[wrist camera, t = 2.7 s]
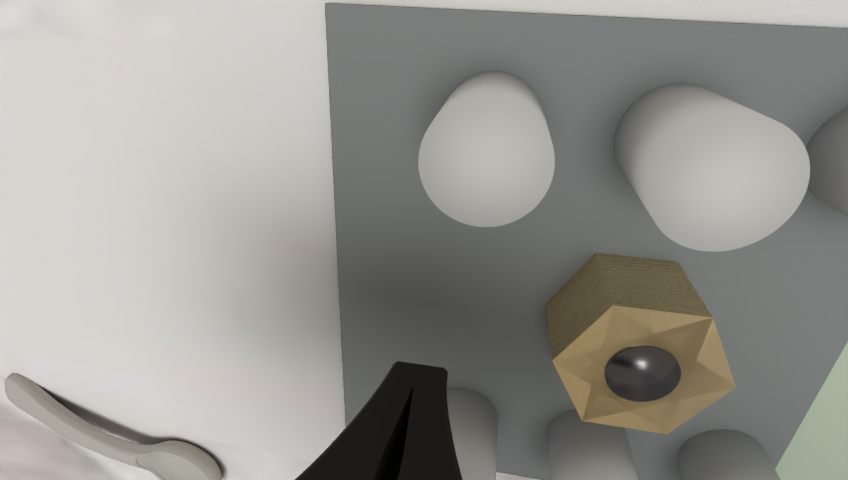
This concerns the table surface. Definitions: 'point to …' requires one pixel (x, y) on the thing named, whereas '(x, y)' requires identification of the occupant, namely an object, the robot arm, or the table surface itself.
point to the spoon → (112, 437)
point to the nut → (636, 344)
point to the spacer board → (593, 223)
